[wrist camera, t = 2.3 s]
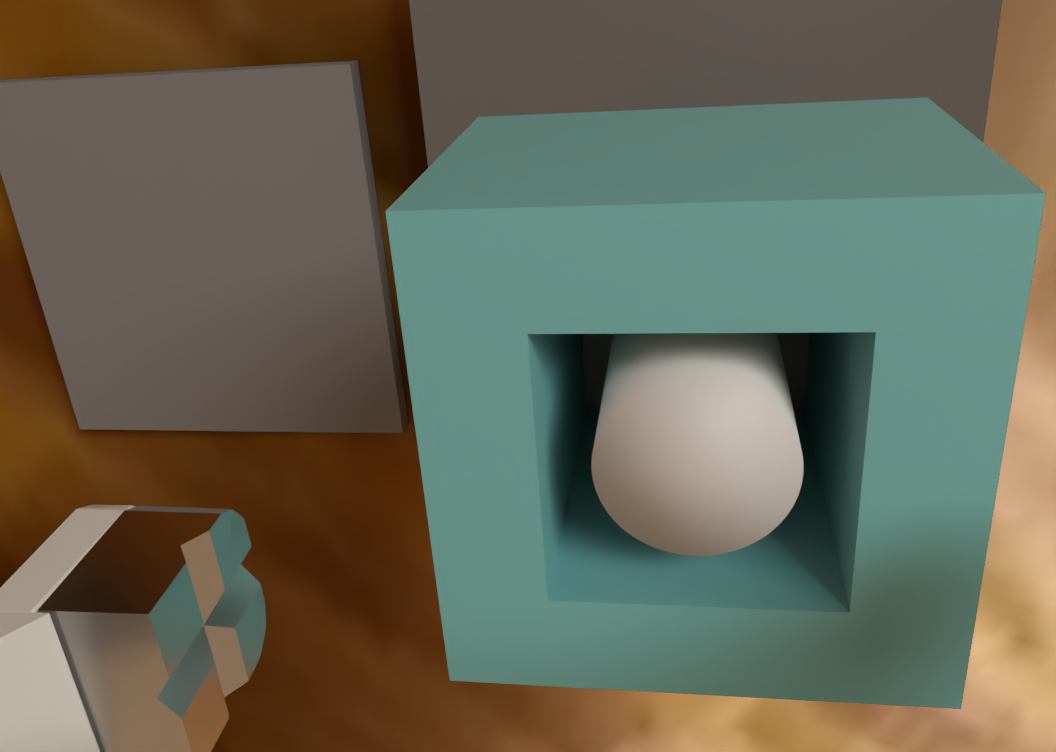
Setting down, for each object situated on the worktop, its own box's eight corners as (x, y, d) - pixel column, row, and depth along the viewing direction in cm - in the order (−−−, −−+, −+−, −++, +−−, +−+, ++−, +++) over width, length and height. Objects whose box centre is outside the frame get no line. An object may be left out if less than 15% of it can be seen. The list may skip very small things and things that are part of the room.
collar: (886, 487, 16) (961, 709, 12) (511, 480, 17) (449, 680, 13) (927, 96, 13) (1045, 193, 9) (478, 117, 14) (385, 210, 10)
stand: (922, 428, 25) (1140, 920, 13) (476, 423, 27) (303, 847, 15) (996, -184, 19) (1530, -334, 7) (418, -133, 21) (49, -183, 9)
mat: (408, 423, 28) (403, 433, 27) (90, 419, 29) (80, 429, 29) (358, 60, 23) (349, 64, 23) (-12, 80, 25) (-27, 84, 24)
